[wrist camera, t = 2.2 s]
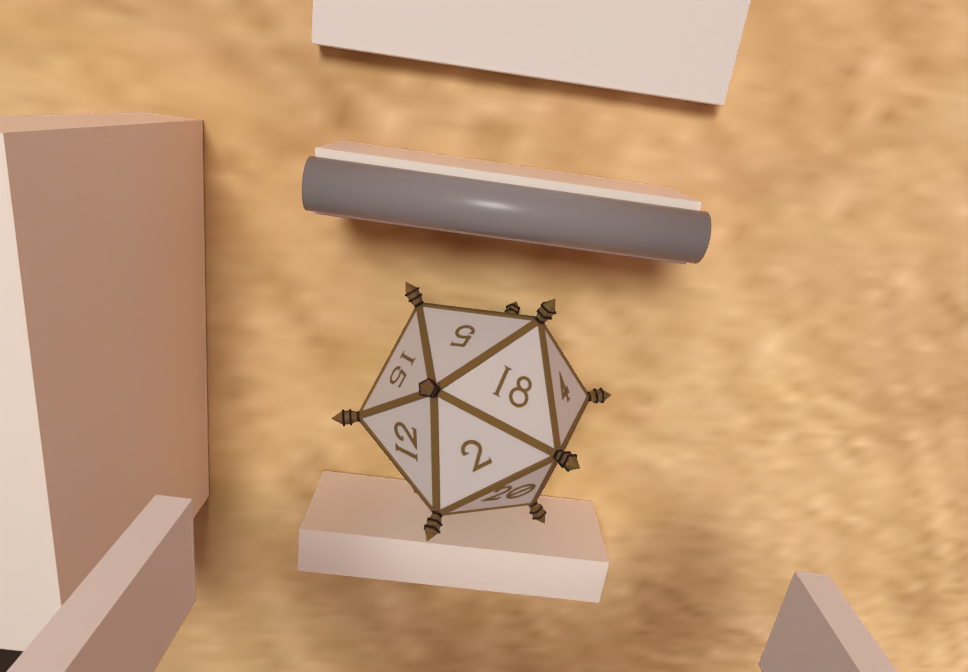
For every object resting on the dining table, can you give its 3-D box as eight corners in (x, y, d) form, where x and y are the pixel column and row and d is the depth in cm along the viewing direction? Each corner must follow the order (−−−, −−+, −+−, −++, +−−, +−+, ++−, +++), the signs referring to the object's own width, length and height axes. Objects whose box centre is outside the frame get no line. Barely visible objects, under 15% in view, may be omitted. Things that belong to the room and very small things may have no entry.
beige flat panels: (583, 537, 29) (633, 747, 19) (163, 490, 28) (2, 687, 18) (666, 186, 23) (791, 242, 14) (145, 111, 22) (-97, 118, 13)
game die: (517, 314, 29) (707, 389, 22) (430, 479, 29) (592, 613, 21) (370, 216, 23) (562, 272, 16) (257, 422, 23) (399, 581, 15)
